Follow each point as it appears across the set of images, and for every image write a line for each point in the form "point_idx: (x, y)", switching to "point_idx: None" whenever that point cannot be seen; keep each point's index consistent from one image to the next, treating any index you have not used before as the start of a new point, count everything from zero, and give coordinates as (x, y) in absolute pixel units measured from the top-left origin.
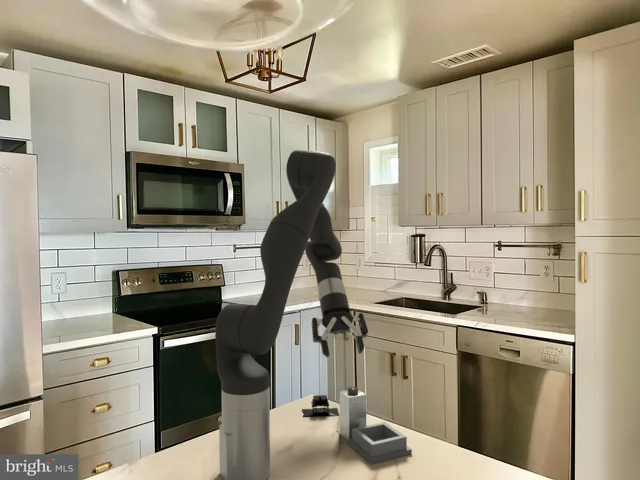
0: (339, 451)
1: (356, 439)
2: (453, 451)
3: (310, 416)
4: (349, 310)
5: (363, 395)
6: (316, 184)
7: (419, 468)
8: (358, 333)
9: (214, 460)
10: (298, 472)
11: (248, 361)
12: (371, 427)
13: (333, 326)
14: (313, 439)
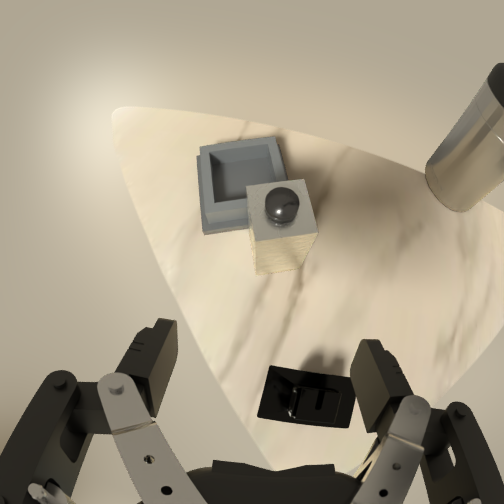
0: (319, 199)
1: None
2: (133, 157)
3: (341, 378)
4: None
5: (255, 185)
6: None
7: (211, 126)
8: (120, 394)
9: (489, 234)
10: (389, 164)
11: None
12: (246, 198)
13: (344, 500)
14: (359, 259)
